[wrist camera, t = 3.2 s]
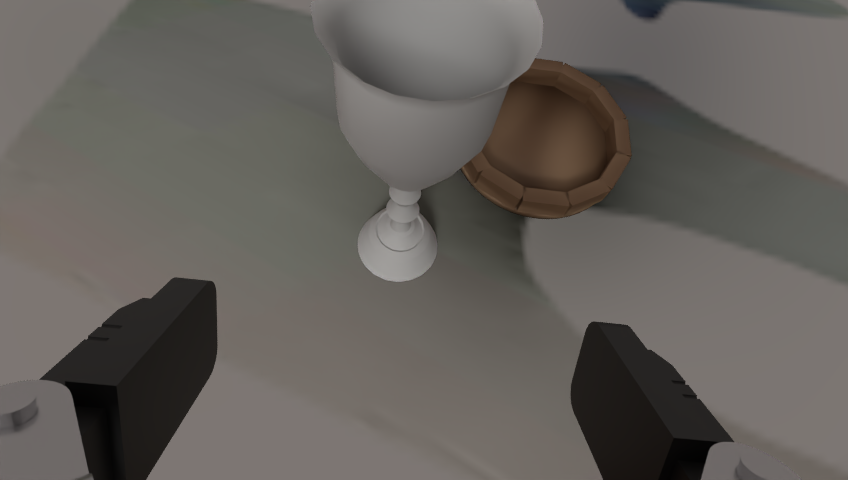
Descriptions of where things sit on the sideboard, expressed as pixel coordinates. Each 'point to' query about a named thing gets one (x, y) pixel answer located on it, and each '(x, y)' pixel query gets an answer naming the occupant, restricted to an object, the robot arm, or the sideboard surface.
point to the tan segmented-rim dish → (552, 144)
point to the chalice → (420, 101)
